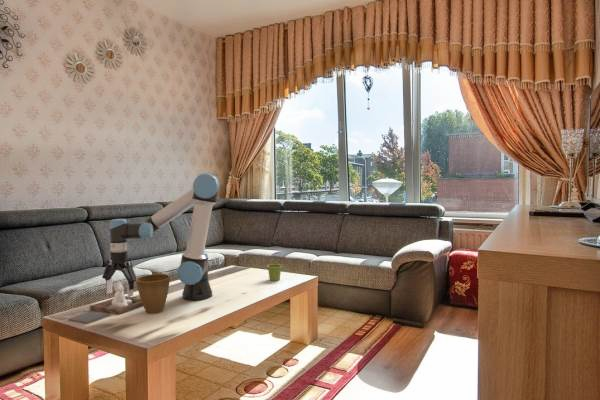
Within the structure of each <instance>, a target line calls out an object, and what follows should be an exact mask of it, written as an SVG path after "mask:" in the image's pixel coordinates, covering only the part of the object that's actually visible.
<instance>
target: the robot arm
mask: <svg viewBox="0 0 600 400" xmlns="http://www.w3.org/2000/svg"><path fill="white" fill-rule="evenodd" d="M220 179H221V178H219V177H218V176H217V175H216V174H213V173H208V172H204V173H201V174H199V175H197V177H196V178H194V180H193V184H192V186H191V189H190V190H188V191H187V192H185V193H184V194H182V195H181V196H179V197H177V199H175V200H174V201H172V202H170V203H169V204H168V205H166V206H165V207H163V208H161V209H160V210H159V211H157V212H156V213H154V214H153V215H151V216H150V217H148V218H147V219H145V220H143V221H141V222H135V223H134V222H132V223H131V222H130V223H129V222H128V221H127V219H125V218H115V219H114V218H113V219H111V220H110V222H109V240H110V241H109V245H110V246H109V247H110V248H109V249H110V253H109V254H110V259H108V260H106V265H105V268H104V271H103V274H102V279H105V286H106V295H108V294H112V293H113V278H112V277H113V276H114V275H115V273H116V272H117V271H119V272H121V273H122V274H123V275H124V277H125V279H126V281H127V283H126V284H127V285H126V287H127V288H126V289H127V291H126V293H127V295H126V296H128V297H134V289H135V287H134V285H135V284H134V283H135V282H136V279H137V278H138V277H137V275H136V274H135V270H134V268H133V263H132V261H127V259H128V251H127V250H128V240H130V239H135V240H138V239H139V240H140V239H141V240H142V239H143V240H145V239H151V238H153V235H154V234H155V233H156V232H157V231H158V230H160V229H161V228H162V227H164V226H166V225H167V224H168V223H170V222H171V221H173V220H175V219H176V218H177V217H179V216H180V215H182V214H183V213H185V212H187V211H188V210H189V209H191V208H192V207H193V211H192V216H191V222H190V227H189V228H190V229H189V232H188V237H187V245H186V249H185V251H183V253H182V254H181V258H180V264H179V266H178V268H177V272H176V273H177V278H178V279H179V280H180V282H181V283H182V284H184V286H183V291H182V296H181V298H182V299H183V300H186V301H200V300H201V301H202V300H206V299H209V298H212V296H213V290H212V287H211V285H210V282H209V257H208V253H207V252H205V251H206V243H207V238H208V235H209V234H208V233H209V228H210V220H211V217H212V210H213V206H214V205H216V204H217V200H218V195H219V193H220V191H221V190H222V181H221V180H220Z"/></svg>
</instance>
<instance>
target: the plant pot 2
mask: <svg viewBox="0 0 600 400" xmlns="http://www.w3.org/2000/svg"><path fill="white" fill-rule="evenodd" d="M266 267H267V270H268V278H269V280H270V281H272V282H274V281H277V282H278V281H280V280H281V274H282V273H281V271H282V267H283V265H282V264H280V263H273V264H271V263H270V264H267V265H266Z"/></svg>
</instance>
